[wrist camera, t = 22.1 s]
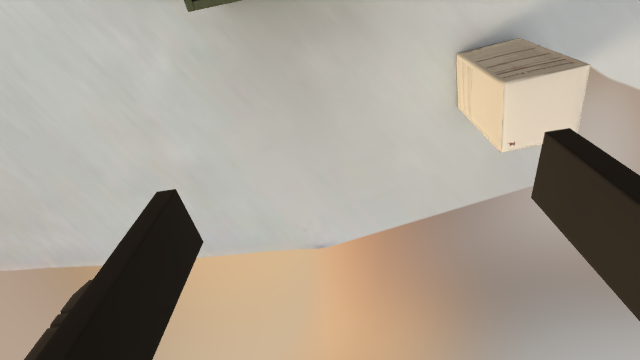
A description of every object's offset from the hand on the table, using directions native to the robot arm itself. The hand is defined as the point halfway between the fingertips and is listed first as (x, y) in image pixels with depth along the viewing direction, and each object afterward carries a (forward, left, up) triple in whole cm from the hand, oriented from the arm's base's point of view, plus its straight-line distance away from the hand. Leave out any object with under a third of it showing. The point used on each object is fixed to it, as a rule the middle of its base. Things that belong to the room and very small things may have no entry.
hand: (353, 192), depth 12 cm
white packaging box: (-18, +8, -32) cm, 37 cm away
